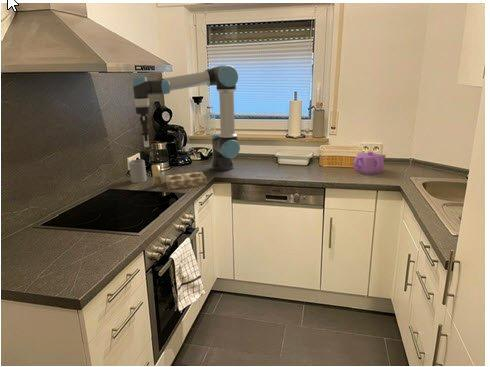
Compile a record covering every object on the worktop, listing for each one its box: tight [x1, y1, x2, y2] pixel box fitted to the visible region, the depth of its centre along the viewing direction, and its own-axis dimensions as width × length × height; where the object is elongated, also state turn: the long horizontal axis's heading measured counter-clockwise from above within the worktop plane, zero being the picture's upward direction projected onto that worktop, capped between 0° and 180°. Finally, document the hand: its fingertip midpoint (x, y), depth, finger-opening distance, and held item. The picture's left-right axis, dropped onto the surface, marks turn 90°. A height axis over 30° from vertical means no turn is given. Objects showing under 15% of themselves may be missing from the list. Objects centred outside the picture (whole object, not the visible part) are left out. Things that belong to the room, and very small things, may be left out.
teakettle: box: [353, 151, 387, 176], centre depth 213 cm, size 17×17×12 cm
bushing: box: [151, 164, 162, 188], centre depth 199 cm, size 4×4×12 cm
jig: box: [164, 171, 208, 190], centre depth 203 cm, size 22×14×4 cm, turn 107°
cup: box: [128, 159, 148, 184], centre depth 210 cm, size 9×9×12 cm
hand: (146, 144), depth 197 cm, fingers open, 13 cm apart
